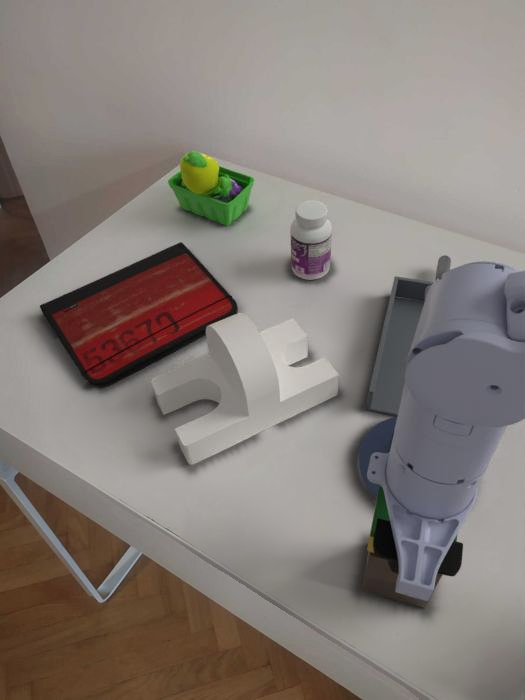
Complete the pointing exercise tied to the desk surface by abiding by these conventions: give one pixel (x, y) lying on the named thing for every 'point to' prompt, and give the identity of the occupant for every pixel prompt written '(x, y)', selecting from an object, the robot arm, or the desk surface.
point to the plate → (374, 442)
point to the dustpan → (398, 340)
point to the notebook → (138, 314)
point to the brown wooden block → (387, 581)
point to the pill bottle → (311, 240)
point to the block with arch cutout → (244, 384)
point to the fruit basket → (211, 188)
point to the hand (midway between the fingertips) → (410, 535)
